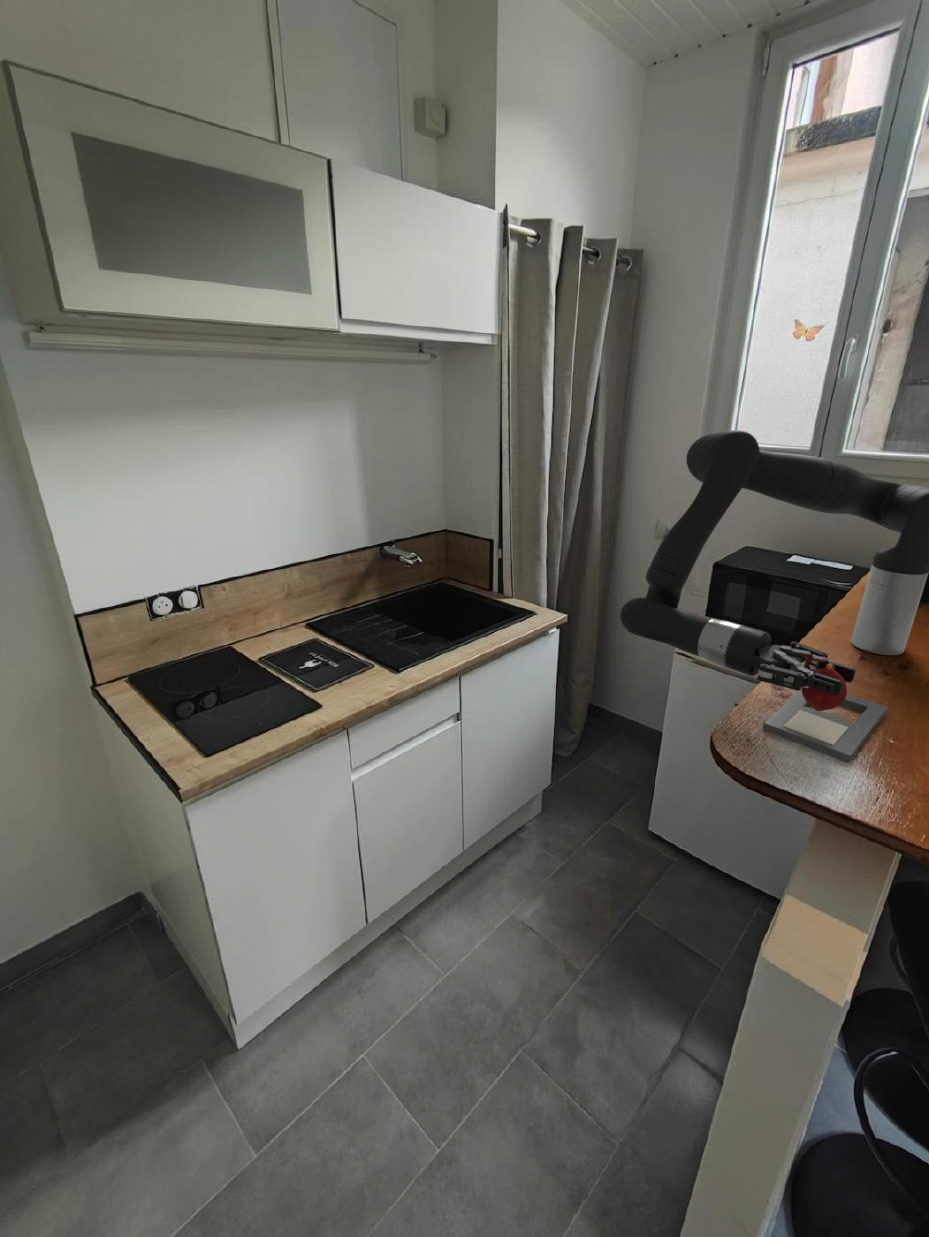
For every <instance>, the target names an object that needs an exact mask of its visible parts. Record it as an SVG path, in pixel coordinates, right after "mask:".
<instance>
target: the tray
mask: <svg viewBox="0 0 929 1237" xmlns="http://www.w3.org/2000/svg"><path fill="white" fill-rule="evenodd" d="M808 706H810V705H809V704H808V703H807V702H806V700H805V699H804V697H803V694H802V688H801V690H800V691H797V692H796V693H795V694H794V695H793V696H792V697H791V698H790V699H788V701H787V702H785V703H784V704H782V706H781V707H780V708H779V709H778V710H777V711H775V712H774V713H773V714H772V715H771V716H770V717H769V718H768V719H767V720H766V721H765V722H764V723H763V726H762V730H764V731H766V732H769V733H771V734H774V735H775V736H778V737H781V738H784V739H786V740H790V741H791V742H794V743H796V744H799V745H801V746H804V747H807V748H810V749H813V750H815V751H817V752H819V753H822V754H825V755H826V756H827V755H828V756H830V757H831V758H832V757H833V758H835V759H837V760H841V761H843V762H845V763H848V764H849V763H850V761H851V760H852V759H853V757H854V756H855V755H856V753H857V752H858V751H859V750H860V748H861V747H862V745H863V744H864V743H865V742H866V741H867V739H868V738H869V736H870V735H871V734H872V732H873V731H874V730H875V728H876V727H877V726H878V725H879V723H880V722H881V720H882V719H883V718H884V717H885V715H886V713H887V712H888V708H889V706H885V705H882V704H878V703H876V702H872V701H870V700H866V699H863V698H860V697H857V696H854V695H851V694H848V693H847V695H846V698H845V700H844V701H843V703H841V704H840V705H839V706H844V707H848V708H850V709H852V710H856V711H858V712H862V713H861V715H860V716H859V717H858V718H857V720H856V721H855V722H851V721H849V720H845V719H843V718H840V717H837V716H834V715H831V714H827V713H825V712H823V711H816V710H815V709H813V708H811V707H808Z"/></svg>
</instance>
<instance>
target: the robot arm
mask: <svg viewBox="0 0 929 1237" xmlns="http://www.w3.org/2000/svg"><path fill="white" fill-rule="evenodd" d="M685 458H686V465H687V466H686V467H687V469H688V471H689V473H690V474H691V475H692V476H693V477H694V479H696V480H697V481H699V482H700V483H702V484H701V486H700V489H699V490H698V492H697V494H696V496H695V498H694V500H693V501H692V502H691V504H690V506H689V507H688V509H687V510H686V511H685V512H684V513H683V515H682V516H681V517H680V518H679V519H678V520H677V522H675V524H674V525H673V526H672V527H671V529H669V531H668V532H667V534H665V536H664V538H663V539H662V541H661V543H660V545H659V546H658V548H657V550H656V552H655V555H654V556H653V558H652V559H651V560H652V561H651V563H650V565H649V567H648V569H647V571H646V575H645V580H646V582H647V584H648V588H647V593H646V596H645V597H634V598H632V599H630V600H628V601H627V602H625V603H624V604H623V605H622V608H621V610H620V614H619V617H620V619H619V620H620V623H621V625H622V627H623V628H624V629H625V630H626V631H627V632H628V633H630V634H632V635H635V636H638V637H642V638H644V639H648V640H652V641H655V642H659V643H663V644H666V645H669V646H671V647H674V648H676V649H678V650H681V651H682V652H684V653H685V652H686V653H687V654H692V655H694V656H697V657H700V658H702V659H705V660H707V661H708V662H710V663H713V664H715V665H719V666H722V667H725V668H727V669H730V670H733V671H736V672H739V673H741V674H743V675H748V676H751V677H753V676H754V677H755V676H757V677H756V679H757V680H758V681H759V682H763V683H767V684H770V685H773V686H778V687H782V688H787V689H789V690H794V691H797V692H799V691H800V690H801V689H802V687H804V688H810V687H812V688H815V689H818V690H821V691H824V692H827V693H830V694H833V695H836V696H837V695H839V694H840V693H841V691H842V687H843V682H842V681H841V680H837V679H834V678H831V677H828V676H825V675H822V674H819V673H815V674H814V671H816V670H819V669H824V668H825V667H826V666H827V664H829V663H831V664H833V665H834V670H835V671H836V672H838V673H839V674H840V675H841V676H842V678H843V679H844V681H845V683H849V684H850V683H852V682H853V681H854V680H855V675H856V674H857V673H856V672H857V670H856V669H855V668H853V667H851V666H848V665H844V664H841V663H837V662H834V661H831V660H830V659H829V654H828V653H827V652H825V651H822V650H820V649H816V648H814V647H811V646H808V645H805V644H802V643H800V642H797V641H790V643H789V644H790V645H789V646H788V645H778V644H775V643H773V641H772V637H771V634H770V633H768V632H767V631H763V630H759V629H756V628H753V627H749V626H746V625H743V624H738V623H736V622H732V621H730V620H725V619H724V620H723V619H718V618H714V617H710V616H707V615H703V614H699V613H695V612H691V611H685V610H681V609H678V607H679V605H680V599H681V596H682V590H683V587H684V586H685V585H686V582H687V580H688V578H689V576H690V574H691V572H692V570H693V568H694V566H695V564H696V562H697V560H698V558H699V556H700V554H701V552H702V550H703V548H704V546H705V544H706V543H707V542H708V540H709V538H710V537H711V535H712V533H713V532H714V531H715V528H716V527H717V525H718V524H719V523H720V521H721V520H722V518H723V516H724V515H725V513H727V511H728V509H729V508H730V506H731V504H732V503H733V501H735V499H736V498H737V496H739V493H740V492H741V491H742V489H743V490H748V491H751V492H754V493H758V494H761V495H763V496H766V497H769V498H772V499H774V500H778V501H780V502H784V503H786V504H790V505H794V506H797V507H799V508H802V509H806V510H811V511H816V512H817V513H825V514H834V515H835V514H836V515H851V516H856V517H858V518H862V519H864V520H867V521H870V522H872V523H874V524H877V525H879V526H881V527H884V528H885V529H887V530H891V531H893V532H897V533H900V535H899V538H898V540H897V542H896V544H895V546H893V547H891V548H881V549H878V550H877V551H876V552H875V554H874V556H873V559H872V563H871V566H870V571H869V574H868V578H867V583H866V586H865V588H864V593H863V596H862V600H861V604H860V607H859V611H858V615H857V619H856V622H855V625H854V629H853V633H852V637H851V640H850V643H851V644H852V645H853V646H854V647H856V648H858V649H860V650H863V651H864V652H865V651H866V652H869V653H871V654H872V653H873V654H875V655H876V654H877V655H883V656H899V655H903V653H905V649H906V646H907V643H908V639H909V636H910V634H911V630H912V627H913V624H914V620H915V617H916V614H917V611H918V607H919V606H920V605H919V604H920V603H921V602H920V601H921V598H922V594H923V591H924V589H925V586H926V582H927V578H928V575H929V486H925V485H919V484H915V483H904V482H903V483H902V482H895V481H886V480H880V479H874V478H871V477H868V476H867V475H865V474H863V473H862V472H861V471H859V470H857V469H856V468H854V467H852V466H849V465H847V464H844V463H842V462H838V461H834V460H832V459H826V458H824V457H819V456H813V455H806V454H798V453H787V452H773V451H766V450H761V449H760V446H759V442H758V440H757V439H756V438H755V436H754V435H753V434H752V433H750V432H748V431H745V430H739V429H733V430H724V431H723V430H722V431H716V432H710V433H707V434H705V435H703V436H701V437H699V438H698V439H696V440H695V441H694V442H692V444H691V445H690V447H689V449H688V451H687V453H686V457H685ZM813 674H814V675H813Z"/></svg>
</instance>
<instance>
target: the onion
mask: <svg viewBox="0 0 929 1237" xmlns="http://www.w3.org/2000/svg"><path fill="white" fill-rule="evenodd" d="M815 673H819V674H822V675H825V676H828V677H831V678H834V679H837V680H841V681H842V682H843V687H842V691H841V693H840V694H839V695H837V696H836V695H833V694H830V693H827V692H824V691H821V690H818V689H815V688H812V687H810V688H804V687H801V689H802V694H803V697H804V699H805V700H806V702H807V703H808V704H809V705H808V706H810V708H811V707H812V708H811V709H814V710H816V711H820V712H823V711H824V712H825V711H829V710H833V709H836V708H837V707H838V706H841V705H840V704H841V703H843V701H844V700H845V698H846V695H847V694H848V692H847V691H848V690H847V687H848V686H847V682H845V681H844V679H843V678H842V676H841V675H840V674H839V673H838V672H836V671H835V670H834V665H833V664H831V663H829V664H827V666H826V667H825V668H824V669H819V670H816V671H814V674H815ZM814 674H813V675H814Z"/></svg>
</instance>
